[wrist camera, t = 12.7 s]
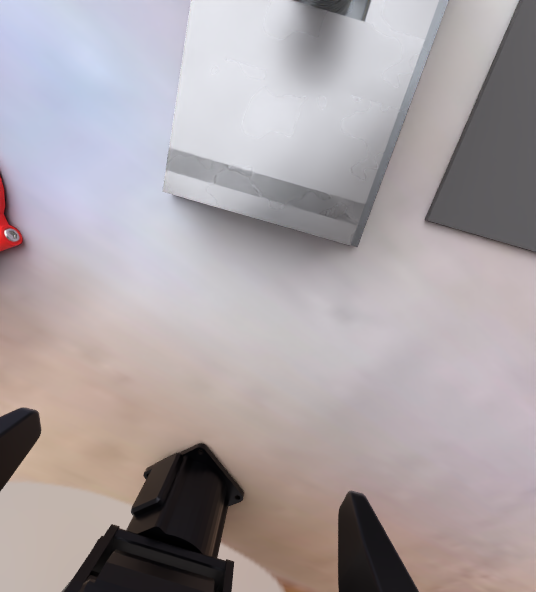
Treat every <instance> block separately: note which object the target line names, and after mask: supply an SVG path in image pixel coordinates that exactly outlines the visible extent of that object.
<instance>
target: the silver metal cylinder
mask: <svg viewBox="0 0 536 592" xmlns="http://www.w3.org/2000/svg"><path fill="white" fill-rule="evenodd" d="M293 1H296V2H299V3H303V4H306V5H310V6H313V7H316V8H320V9H323V10H326V11H330V12H333V13H337V14H340V15H343V16H346V14H347V11H348V9H349V6H350V3H351V0H293Z"/></svg>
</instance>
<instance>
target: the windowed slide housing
mask: <svg viewBox="0 0 536 592" xmlns="http://www.w3.org/2000/svg"><path fill="white" fill-rule="evenodd" d="M448 1H449V0H351V3H350V6H349V9H348V11H347V14H346V16H343V15H340V14H337V13H333V12H330V11H326V10H323V9H320V8H316V7H313V6H310V5H306V4H303V3H299V2H296V1H293V0H191V3H190V10H189V16H188V23H187V30H186V37H185V43H184V50H183V57H182V64H181V70H180V77H179V84H178V90H177V97H176V104H175V111H174V117H173V124H172V131H171V137H170V144H169V151H168V158H167V164H166V171H165V178H164V185H163V191H162V192H165V193H169V194H172V195H176V196H179V197H183V198H186V199H190V200H193V201H197V202H200V203H204V204H207V205H211V206H214V207H217V208H221V209H224V210H228V211H231V212H235V213H238V214H242V215H245V216H249V217H252V218H256V219H259V220H263V221H266V222H270V223H273V224H276V225H280V226H283V227H287V228H290V229H294V230H297V231H301V232H304V233H308V234H311V235H315V236H318V237H322V238H325V239H329V240H332V241H336V242H339V243H342V244H346V245H349V246H350V245H352V246H355V247H358V244H359V241H360V238H361V236H362V233H363V230H364V228H365V225H366V222H367V220H368V217H369V214H370V212H371V209H372V206H373V203H374V201H375V198H376V195H377V193H378V190H379V187H380V185H381V182H382V179H383V177H384V174H385V171H386V168H387V166H388V163H389V160H390V158H391V155H392V152H393V150H394V147H395V144H396V141H397V139H398V136H399V133H400V131H401V128H402V125H403V123H404V120H405V117H406V115H407V112H408V109H409V106H410V104H411V101H412V98H413V96H414V93H415V90H416V88H417V85H418V82H419V79H420V77H421V74H422V71H423V69H424V66H425V63H426V61H427V58H428V55H429V53H430V50H431V47H432V44H433V42H434V39H435V36H436V34H437V31H438V28H439V26H440V23H441V20H442V18H443V15H444V12H445V9H446V7H447V4H448Z"/></svg>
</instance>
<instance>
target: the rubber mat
mask: <svg viewBox="0 0 536 592" xmlns="http://www.w3.org/2000/svg"><path fill="white" fill-rule="evenodd" d="M425 220H427V221H430V222H434V223H437V224H440V225H444V226H447V227H451V228H454V229H458V230H461V231H465V232H468V233H472V234H475V235H478V236H482V237H485V238H489V239H492V240H496V241H499V242H503V243H506V244H510V245H513V246H516V247H520V248H523V249H527V250H530V251H534V252H536V0H520V1H519V3H518V5H517V8H516V10H515V12H514V15H513V17H512V19H511V22H510V24H509V26H508V29H507V31H506V33H505V35H504V38H503V40H502V42H501V45H500V47H499V49H498V52H497V54H496V56H495V59H494V61H493V63H492V66H491V68H490V70H489V73H488V75H487V77H486V79H485V82H484V84H483V86H482V89H481V91H480V93H479V96H478V98H477V100H476V103H475V105H474V107H473V110H472V112H471V114H470V116H469V119H468V121H467V123H466V126H465V128H464V130H463V133H462V135H461V137H460V140H459V142H458V144H457V147H456V149H455V151H454V154H453V156H452V158H451V160H450V163H449V165H448V167H447V170H446V172H445V174H444V177H443V179H442V181H441V184H440V186H439V188H438V191H437V193H436V195H435V197H434V200H433V202H432V204H431V207H430V209H429V211H428V214H427V216H426V218H425Z"/></svg>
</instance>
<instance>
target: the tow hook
mask: <svg viewBox="0 0 536 592" xmlns="http://www.w3.org/2000/svg"><path fill="white" fill-rule="evenodd" d="M4 210H5V196H4V187H3V184H2V180H1V177H0V251H3V250H6V249H8V248H11V247H14V246H17V245H19V244H21V243H22V235H21V233H20V232H19V231H18V230H17V229H16V228H15V227H13V226H10V225H9V224H8V222H7V220H6V218H5V216H4Z"/></svg>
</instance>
